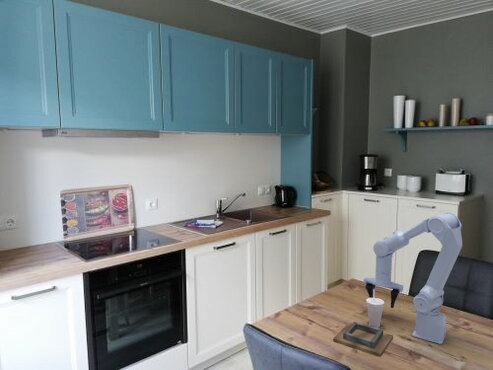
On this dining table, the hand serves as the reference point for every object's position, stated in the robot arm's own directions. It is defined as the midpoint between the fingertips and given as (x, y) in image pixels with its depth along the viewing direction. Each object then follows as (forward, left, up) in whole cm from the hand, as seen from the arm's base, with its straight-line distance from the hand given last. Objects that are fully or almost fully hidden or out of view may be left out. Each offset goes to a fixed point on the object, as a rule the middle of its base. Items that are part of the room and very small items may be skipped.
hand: (382, 304), depth 145 cm
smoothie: (0, +9, -5) cm, 10 cm away
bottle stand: (0, +21, -5) cm, 22 cm away
